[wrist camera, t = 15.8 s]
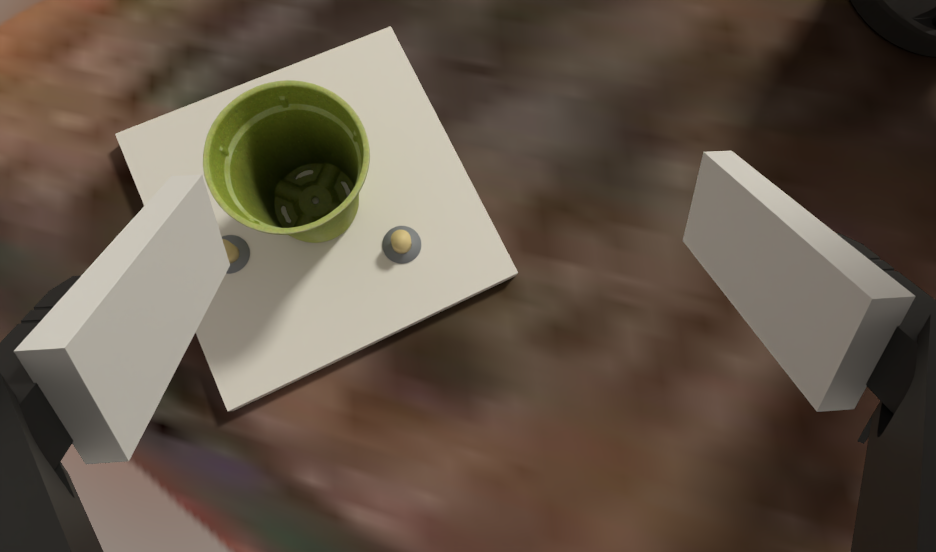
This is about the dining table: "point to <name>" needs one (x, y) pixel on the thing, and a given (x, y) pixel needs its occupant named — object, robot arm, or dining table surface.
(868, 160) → the dining table surface
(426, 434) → the dining table surface
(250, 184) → the plant pot
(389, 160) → the pin board
